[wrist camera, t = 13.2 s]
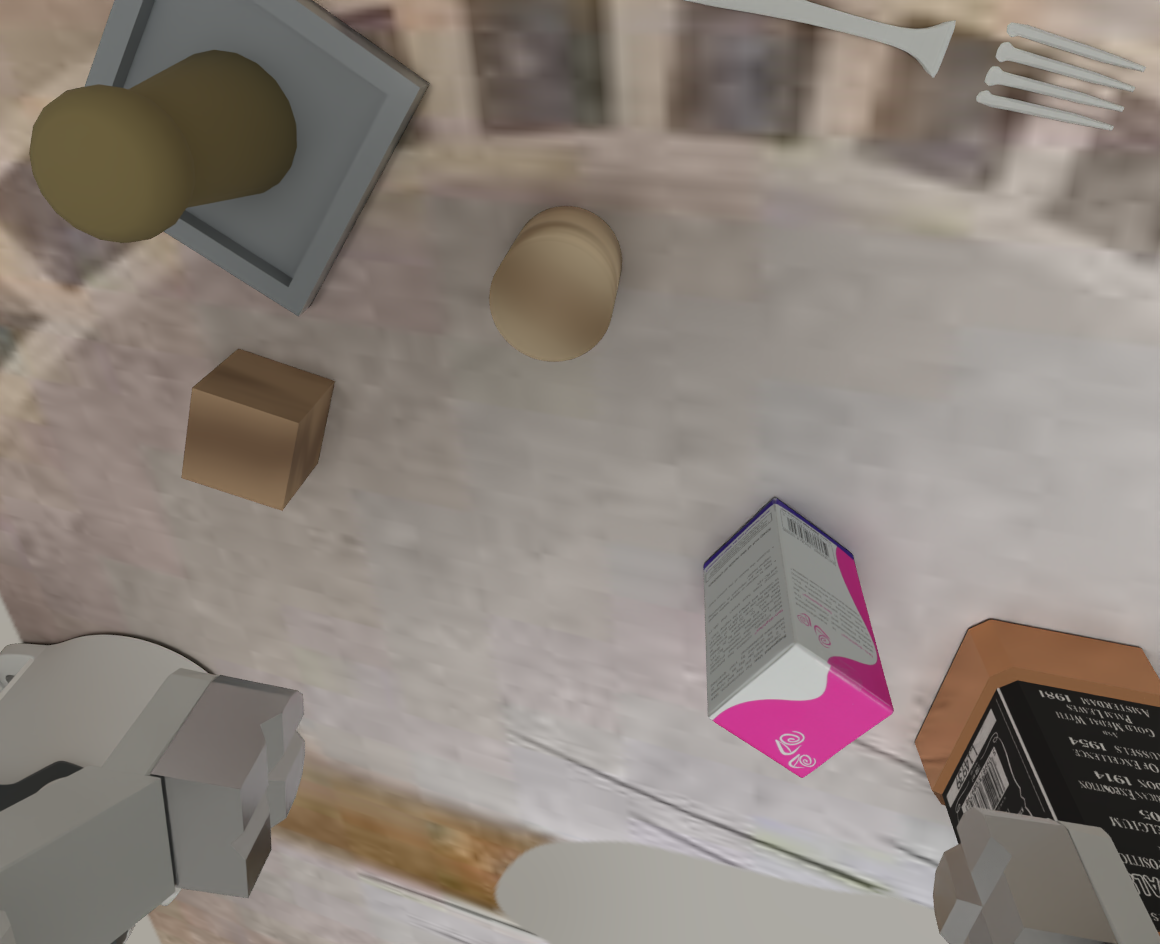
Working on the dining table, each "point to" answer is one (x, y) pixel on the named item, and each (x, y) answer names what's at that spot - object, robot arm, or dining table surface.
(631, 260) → the dining table surface
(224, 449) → the walnut block
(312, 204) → the slate dish
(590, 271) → the cork cylinder
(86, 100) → the olive hourglass shape
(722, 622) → the supplement box
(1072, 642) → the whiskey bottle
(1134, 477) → the dining table surface
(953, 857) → the robot arm
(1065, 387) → the dining table surface
